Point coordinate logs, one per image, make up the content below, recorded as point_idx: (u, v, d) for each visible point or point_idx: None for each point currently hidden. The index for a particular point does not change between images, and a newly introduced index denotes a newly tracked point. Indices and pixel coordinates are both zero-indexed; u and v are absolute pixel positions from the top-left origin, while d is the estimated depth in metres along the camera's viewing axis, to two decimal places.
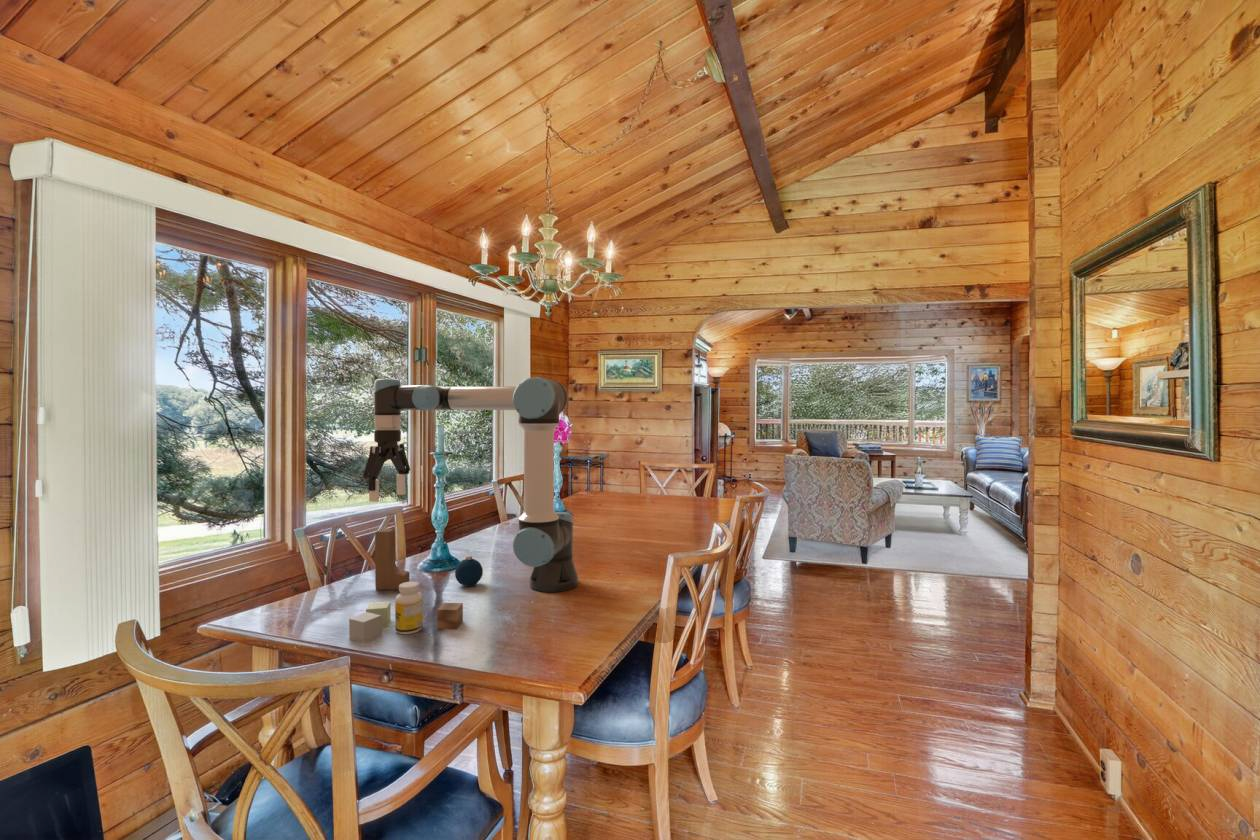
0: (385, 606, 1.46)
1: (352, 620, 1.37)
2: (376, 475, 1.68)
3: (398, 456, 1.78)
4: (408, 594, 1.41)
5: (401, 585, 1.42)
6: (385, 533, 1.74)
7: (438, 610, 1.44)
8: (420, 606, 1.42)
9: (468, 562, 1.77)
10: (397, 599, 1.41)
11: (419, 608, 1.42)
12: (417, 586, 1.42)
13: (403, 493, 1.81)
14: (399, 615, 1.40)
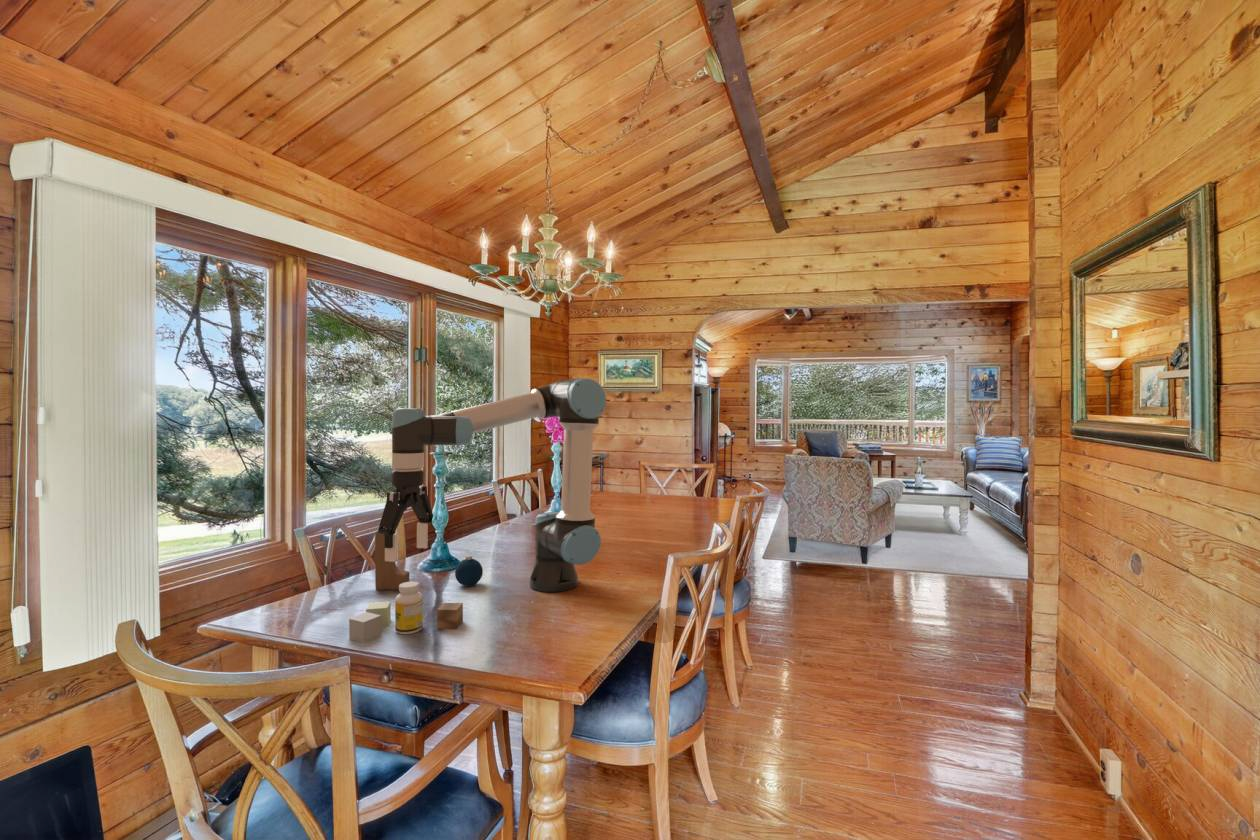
0: (385, 606, 1.46)
1: (352, 620, 1.37)
2: (394, 529, 1.35)
3: (420, 502, 1.45)
4: (408, 594, 1.41)
5: (401, 585, 1.42)
6: None
7: (438, 610, 1.44)
8: (420, 606, 1.42)
9: (468, 562, 1.77)
10: (397, 599, 1.41)
11: (419, 608, 1.42)
12: (417, 586, 1.42)
13: (425, 546, 1.49)
14: (399, 615, 1.40)
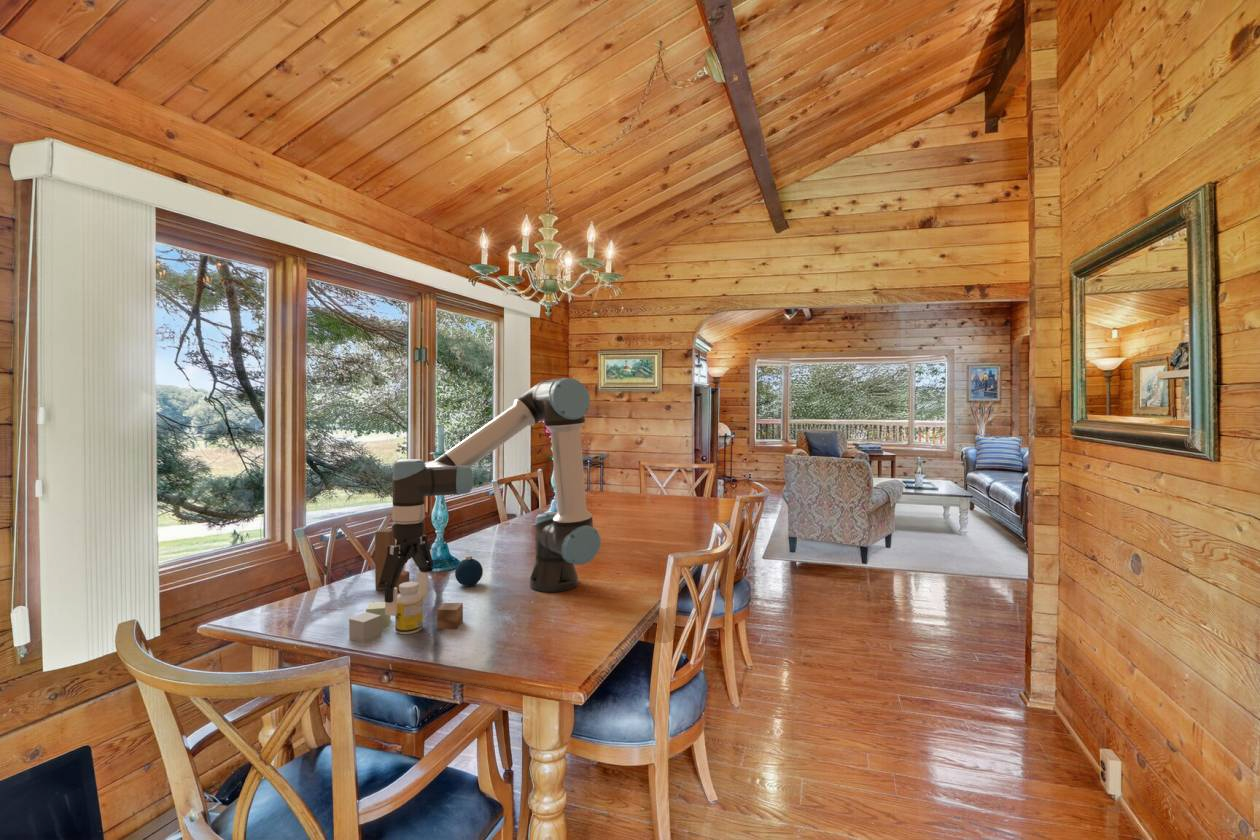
0: None
1: (352, 620, 1.37)
2: (394, 583, 1.35)
3: (420, 553, 1.45)
4: (408, 594, 1.41)
5: (401, 585, 1.42)
6: (385, 533, 1.74)
7: (438, 610, 1.44)
8: (420, 606, 1.42)
9: (468, 562, 1.77)
10: (397, 599, 1.41)
11: (419, 608, 1.42)
12: (417, 586, 1.42)
13: (425, 595, 1.49)
14: (399, 615, 1.40)
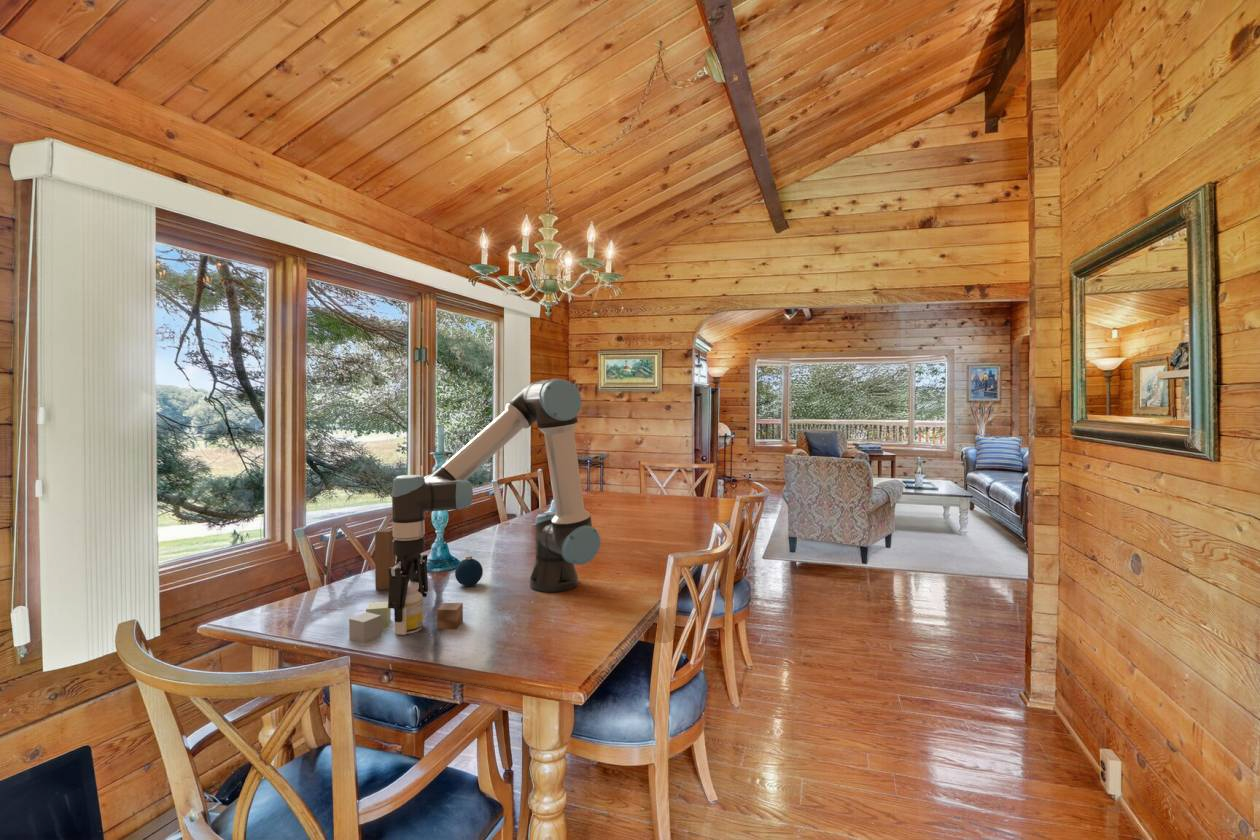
0: (385, 606, 1.46)
1: (352, 620, 1.37)
2: (403, 603, 1.38)
3: (419, 571, 1.44)
4: (408, 594, 1.41)
5: None
6: (385, 533, 1.74)
7: (438, 610, 1.44)
8: (420, 606, 1.42)
9: (468, 562, 1.77)
10: None
11: (419, 608, 1.42)
12: (417, 586, 1.42)
13: None
14: None
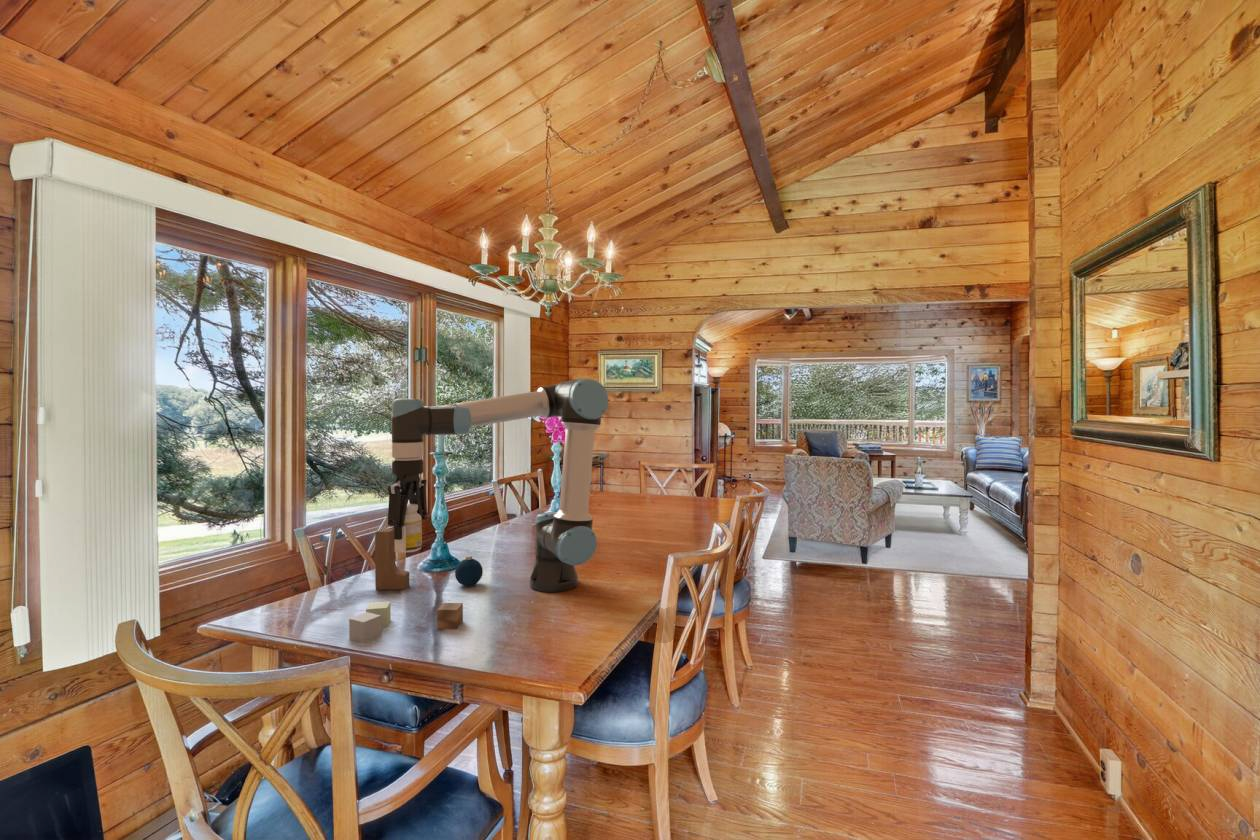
0: (385, 606, 1.46)
1: (352, 620, 1.37)
2: (402, 521, 1.41)
3: (418, 493, 1.47)
4: (408, 514, 1.44)
5: None
6: (385, 533, 1.73)
7: (438, 610, 1.44)
8: (419, 526, 1.45)
9: (468, 562, 1.77)
10: None
11: (419, 528, 1.45)
12: (416, 507, 1.45)
13: None
14: None
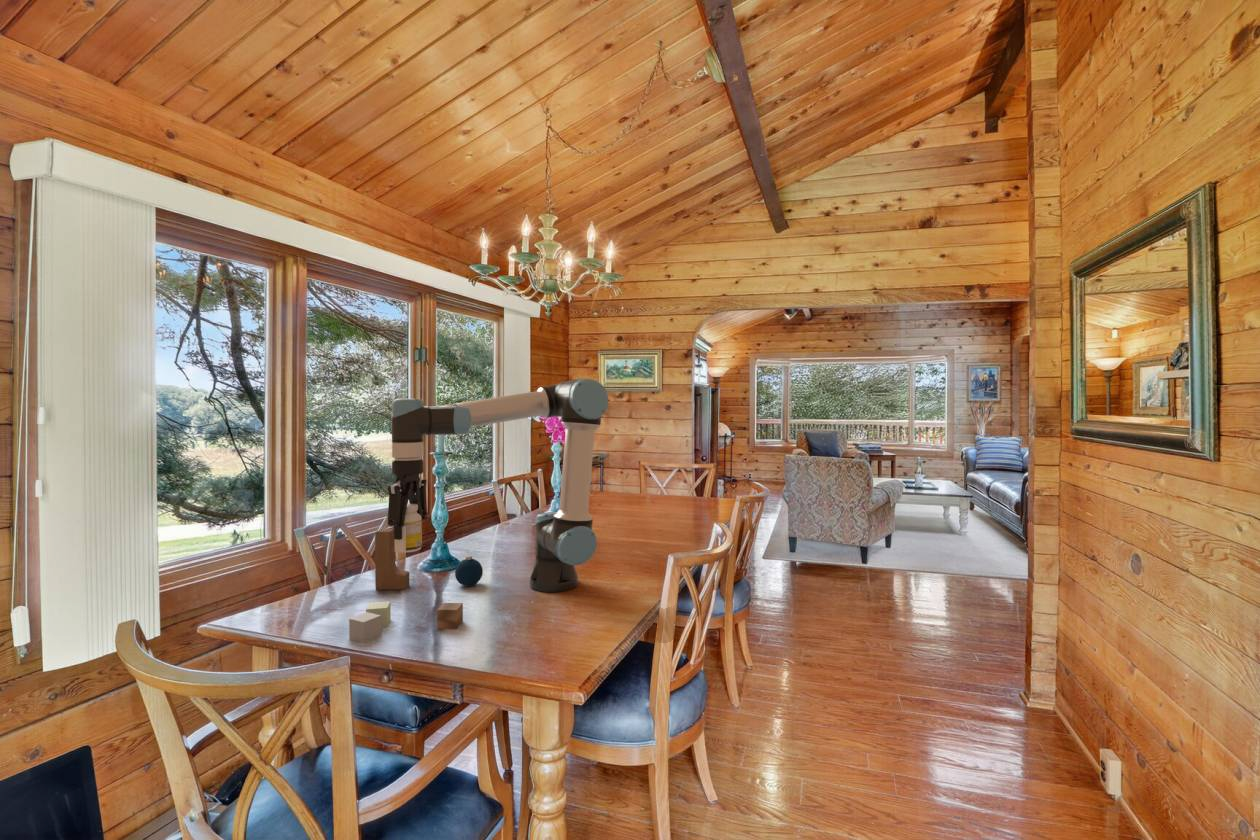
0: (385, 606, 1.46)
1: (352, 620, 1.37)
2: (402, 521, 1.41)
3: (418, 493, 1.47)
4: (407, 514, 1.44)
5: None
6: (385, 533, 1.74)
7: (438, 610, 1.44)
8: (419, 526, 1.45)
9: (468, 562, 1.77)
10: None
11: (418, 528, 1.45)
12: (416, 506, 1.45)
13: None
14: None
